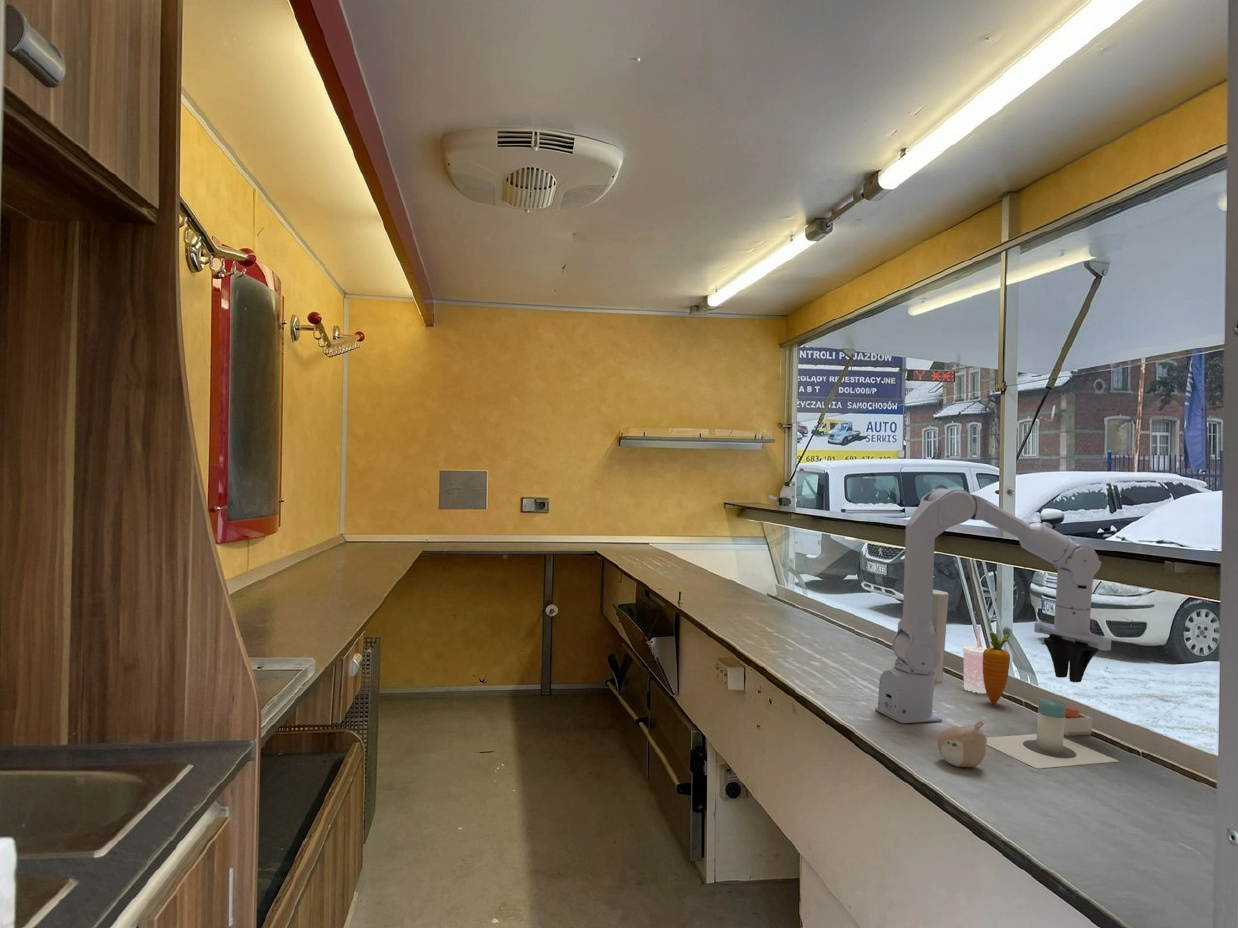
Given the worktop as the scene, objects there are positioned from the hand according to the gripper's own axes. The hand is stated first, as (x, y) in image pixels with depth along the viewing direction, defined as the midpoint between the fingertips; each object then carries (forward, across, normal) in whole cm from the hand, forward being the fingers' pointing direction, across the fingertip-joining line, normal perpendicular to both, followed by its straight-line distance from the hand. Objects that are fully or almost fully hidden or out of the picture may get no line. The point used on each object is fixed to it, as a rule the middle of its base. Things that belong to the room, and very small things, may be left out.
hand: (1068, 679), depth 140 cm
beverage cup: (+10, +24, -2) cm, 26 cm away
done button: (+7, 0, 0) cm, 7 cm away
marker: (+9, -8, +13) cm, 18 cm away
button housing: (+9, 0, 0) cm, 9 cm away
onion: (+10, -11, +35) cm, 38 cm away
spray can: (+10, +33, +3) cm, 34 cm away
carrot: (+10, +15, +2) cm, 18 cm away
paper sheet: (+9, -8, +14) cm, 19 cm away
